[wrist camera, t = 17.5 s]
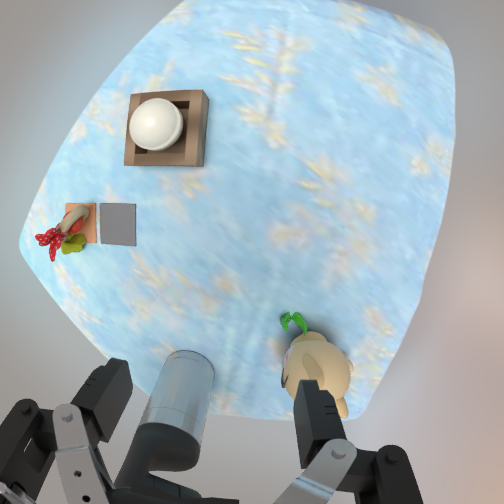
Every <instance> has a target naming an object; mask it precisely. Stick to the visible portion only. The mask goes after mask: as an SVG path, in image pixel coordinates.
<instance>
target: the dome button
mask: <svg viewBox="0 0 504 504" xmlns="http://www.w3.org/2000/svg"><path fill="white" fill-rule="evenodd" d="M182 129H183V117H182V114H181V112H180V110H179V109H178V108H177V107H176V106H175V105H173V104H172V103H171V102H169V101H168V100H165V99H161V98H155V99H150V100H147V101H145V102H144V103H142V104H141V105H140V106H139V107H138V108H137V109H136V110H135V111H134V113H133V115H132V117H131V120H130V124H129V131H130V135H131V138H132V140H133V141H134V142H135V143H136V144H137V145H138V146H140V147H141V148H144V149H149V150H154V151H158V150H163V149H166V148H168V147H170V146H171V145H173V144H174V143H175V142H176V141H177V139H178V138H179V136H180V135H181V132H182Z"/></svg>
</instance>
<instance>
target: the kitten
mask: <svg viewBox="0 0 504 504" xmlns="http://www.w3.org/2000/svg"><path fill="white" fill-rule="evenodd" d="M290 319H292V320H293V321H295V322H296V323H297V324H298V325H299V326H300V327H301V328H302V330H303V334H301V335H299V336H298V337H296V338H295V339H294V340H293V341H292V342H291V344H290V348H289V349H288V351H287V352H286V354H285V357H284V360H283V364H282V378H281V384H282V388H286V390H287V392H288V393H289V395H290V396H291V397H292V398H293V399H294V400H295V397H296V393H297V388H298V384H299V381H300V380H301V379H316V380H317V382H318V385H319V389H320V390H328V391H329V392H330V394H331V395H332V396H333V397H334V399H335V403H336V407H337V409H338V414H339V415H340V417H341V418H344V419H346V418H347V417H348V409H347V405H346V402H345V399H344V397H343V396H344V395H345V393H346V392H347V390H348V387H349V383H350V373H351V372H352V371H353V369H354V367H353V364H352V362H351V361H350V360H349V359H347V358H346V356H345V355H344V353H343V352H342V351H341V350H340V349H339V348H338V347H337V346H335V345H333V344H331V343H329V342H327V340H326V338H325V337H324V336H323V335H321V334H320V333H317V332H313V331H308V332H306V331H307V324H306V322H305V321H304V319H303V318H302V317H301V315H300V314H299V313H296V312H295V313H294V315H293V316H292V318H291V316H290V313H289V312H288V313H287V314H286V315H284V316H283V317H282V318H281V325H282V327H283V328H284V329H285V330H286V331H287V332H288V326H287V323H288V322H289V321H290Z"/></svg>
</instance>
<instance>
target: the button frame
mask: <svg viewBox="0 0 504 504" xmlns="http://www.w3.org/2000/svg"><path fill="white" fill-rule="evenodd" d="M155 98H161V99H165V100H168V101H169V102H171V103H172V104H173V105H175V106H176V107H177V108H178V109H179V110H180V112H181V114H182V117H183V129H182V132H181V135H180V136H179V138H178V139H177V141H176V142H175V143H174V144H173V145H171V146H170V147H168V148H166V149H163V150H158V151H154V150H149V149H144V148H141V147H140V146H138V145H137V144H136V143H135V142H134V141H133V140H132V138H131V135H130V131H129V124H130V120H131V117H132V115H133V113H134V111H135V110H136V109H137V108H138V107H139V106H140V105H141V104H142V103H144V102H145V101H147V100H150V99H155ZM208 105H209V99H208V97H207V96H206V94H205V92H204V91H203V90H177V91H160V92H148V93H138V94H131V97H130V105H129V113H128V121H127V131H126V143H125V157H124V166H199V167H203V165H204V150H205V138H206V126H207V115H208Z"/></svg>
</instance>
